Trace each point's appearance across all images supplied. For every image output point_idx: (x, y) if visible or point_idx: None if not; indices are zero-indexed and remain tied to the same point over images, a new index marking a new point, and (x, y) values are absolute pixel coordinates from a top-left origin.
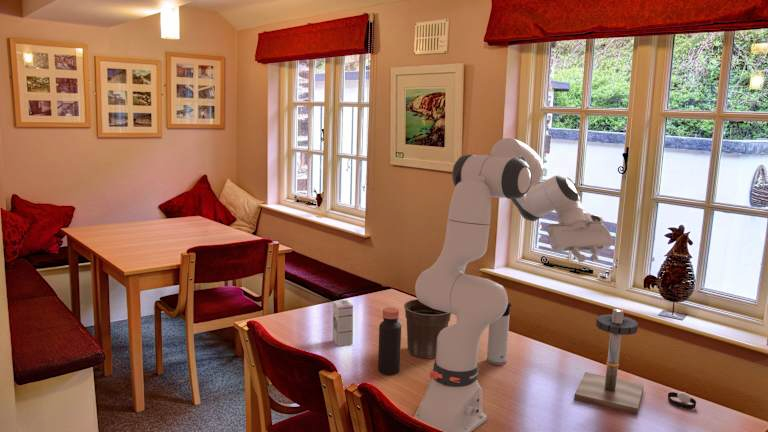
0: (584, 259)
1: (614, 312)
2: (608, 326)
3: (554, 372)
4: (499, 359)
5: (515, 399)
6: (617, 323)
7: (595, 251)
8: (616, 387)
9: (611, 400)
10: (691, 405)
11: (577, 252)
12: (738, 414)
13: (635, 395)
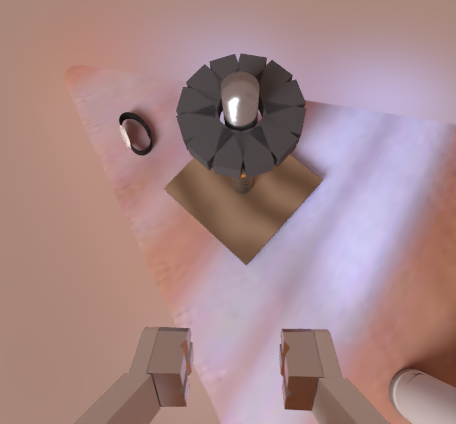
0: (293, 329)
1: (258, 86)
2: (293, 82)
3: (297, 304)
4: (422, 372)
5: (431, 207)
6: None
7: (120, 405)
8: (225, 187)
9: None
10: (133, 114)
11: (375, 408)
12: (73, 94)
13: None
